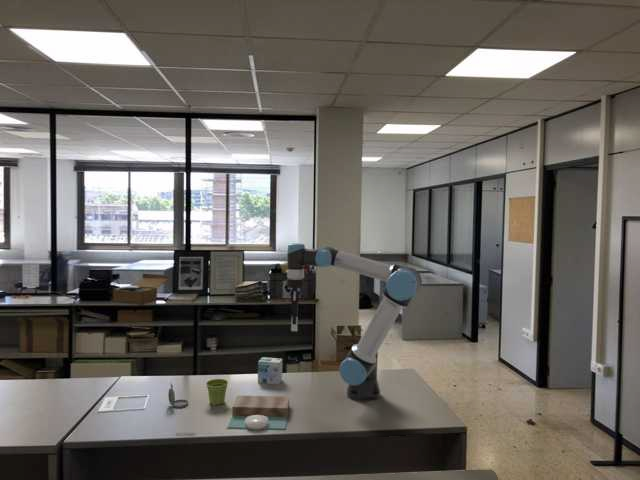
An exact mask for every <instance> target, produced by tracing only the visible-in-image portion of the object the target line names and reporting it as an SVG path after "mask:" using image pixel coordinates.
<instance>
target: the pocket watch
mask: <svg viewBox="0 0 640 480" xmlns="http://www.w3.org/2000/svg"><path fill="white" fill-rule="evenodd" d="M169 384H170V388H169V389H168V402H169V404H170V405H171V406H173V407H175V408H183V407H186V406H187V405H188V404H189V401H188V400H187V399H177V400H176V397H175V396H176V395H175V391H174V389H173V387H174V386H173V384H172V383H171V382H170V383H169Z"/></svg>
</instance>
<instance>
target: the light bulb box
mask: <svg viewBox="0 0 640 480" xmlns="http://www.w3.org/2000/svg"><path fill="white" fill-rule="evenodd" d="M282 380H283V358H277V357H265V356H263V357H261V358H259V360H258V362H257V383H259V384H267V385H268V384H270V385H279V384H280V383H281V382H282Z"/></svg>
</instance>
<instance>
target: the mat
mask: <svg viewBox="0 0 640 480" xmlns="http://www.w3.org/2000/svg"><path fill="white" fill-rule="evenodd" d="M247 417H249V416H232V415H231V418H230V420H229V423H228V425H227V428H226V429H235V430H236V429H241V430H242V429H243V430H245V429H247V430H248V429H249V428H247V427H246V426H245V419H246V418H247ZM266 417H267V418H268V419H269V420H268V426H267V427H265V428H263V429H262V430H283V431H285V430H286V428H287V421H288V416H287V417H268V416H266ZM249 430H250V429H249Z"/></svg>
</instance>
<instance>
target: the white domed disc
mask: <svg viewBox="0 0 640 480" xmlns="http://www.w3.org/2000/svg"><path fill="white" fill-rule="evenodd" d="M268 420H269V419H268V418H267V417H266V416H263V415H252V416H249V417H247V418H246V419H245V426H246V427H247V428H249V430H264V429H263V428H265V427H267V426H268Z"/></svg>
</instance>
